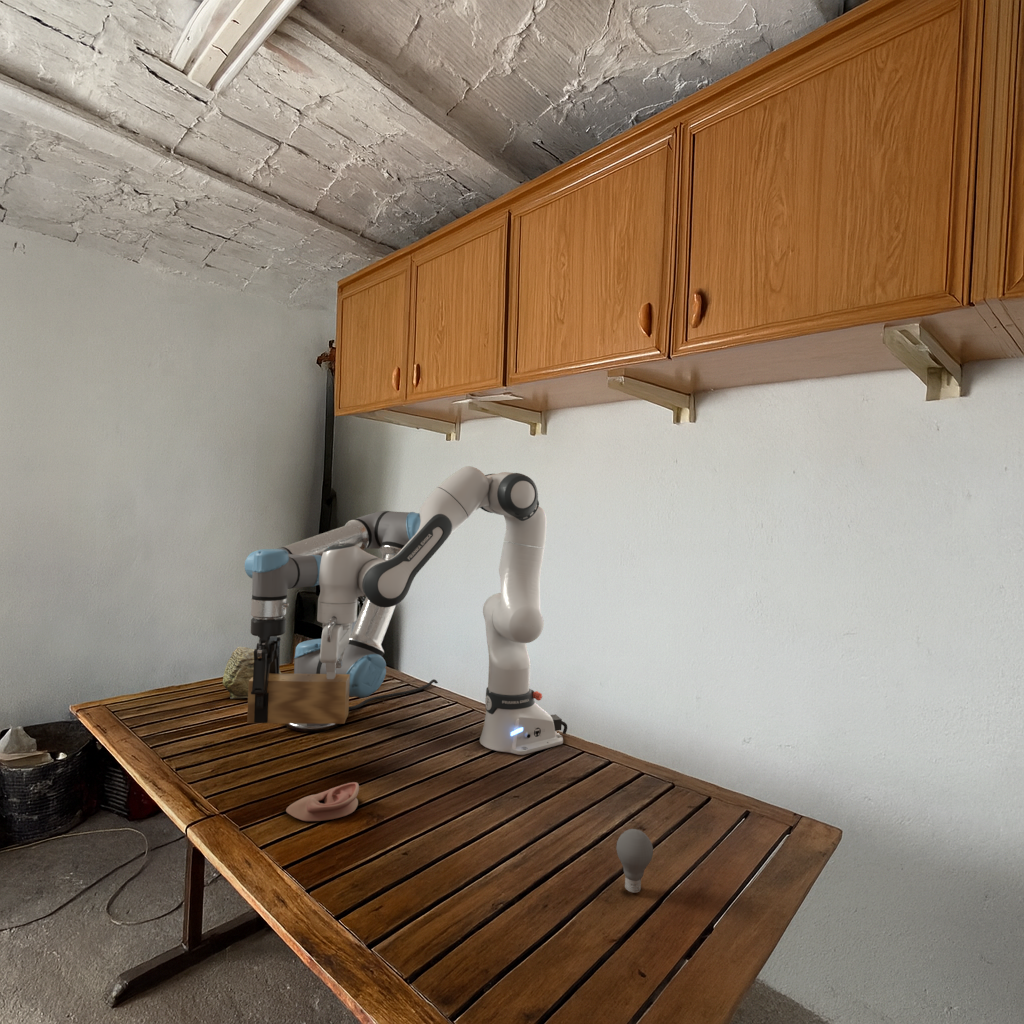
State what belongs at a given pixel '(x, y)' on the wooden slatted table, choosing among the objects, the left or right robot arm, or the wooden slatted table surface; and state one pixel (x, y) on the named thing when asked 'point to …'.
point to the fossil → (239, 672)
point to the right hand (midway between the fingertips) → (334, 672)
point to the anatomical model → (326, 804)
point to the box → (304, 699)
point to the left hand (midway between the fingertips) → (265, 716)
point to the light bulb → (634, 857)
